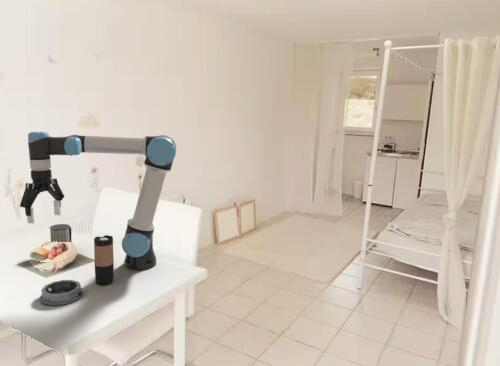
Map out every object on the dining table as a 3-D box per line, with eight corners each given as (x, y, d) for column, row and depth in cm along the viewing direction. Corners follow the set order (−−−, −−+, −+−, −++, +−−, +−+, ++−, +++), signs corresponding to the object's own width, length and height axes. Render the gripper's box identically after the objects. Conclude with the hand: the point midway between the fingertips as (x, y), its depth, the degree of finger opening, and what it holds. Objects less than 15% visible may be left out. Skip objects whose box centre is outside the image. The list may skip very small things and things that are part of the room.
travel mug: (107, 287, 158) (106, 241, 155) (91, 284, 160) (89, 239, 156) (117, 279, 166) (116, 236, 162) (101, 277, 167) (100, 234, 164)
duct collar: (87, 287, 156) (87, 279, 156) (75, 305, 142) (75, 296, 141) (49, 288, 155) (48, 279, 154) (33, 306, 140) (32, 296, 139)
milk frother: (69, 257, 188) (68, 228, 185) (33, 259, 183) (32, 230, 181) (73, 247, 201) (72, 220, 199) (41, 249, 197) (39, 221, 194)
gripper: (57, 165, 168) (60, 211, 172) (6, 172, 145) (11, 225, 149) (71, 166, 166) (74, 212, 170) (21, 174, 143) (25, 227, 146)
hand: (44, 218), depth 159 cm, fingers open, 13 cm apart
